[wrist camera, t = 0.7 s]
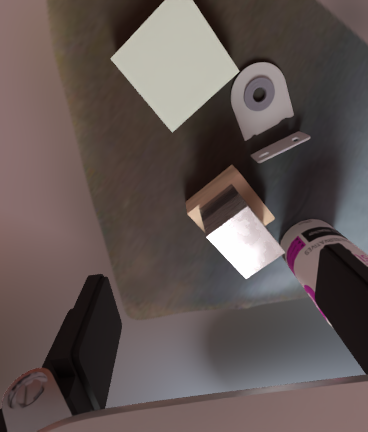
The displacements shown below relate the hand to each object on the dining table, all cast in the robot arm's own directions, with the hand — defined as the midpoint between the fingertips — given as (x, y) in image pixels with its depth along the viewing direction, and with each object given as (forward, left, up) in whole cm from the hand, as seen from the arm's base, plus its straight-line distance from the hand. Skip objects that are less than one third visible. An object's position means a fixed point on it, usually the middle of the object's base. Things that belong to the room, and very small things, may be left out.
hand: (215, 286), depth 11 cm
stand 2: (-8, 0, -24) cm, 26 cm away
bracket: (-2, -11, -25) cm, 27 cm away
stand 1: (+9, -6, -24) cm, 27 cm away
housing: (-8, 0, -20) cm, 22 cm away
